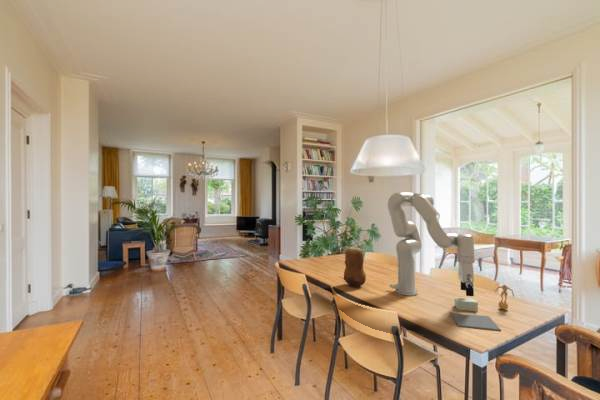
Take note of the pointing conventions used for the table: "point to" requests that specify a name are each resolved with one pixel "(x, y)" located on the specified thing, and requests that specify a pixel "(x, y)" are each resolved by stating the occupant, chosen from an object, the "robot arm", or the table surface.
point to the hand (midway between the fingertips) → (467, 292)
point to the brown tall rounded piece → (354, 267)
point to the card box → (466, 304)
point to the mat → (475, 321)
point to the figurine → (502, 303)
